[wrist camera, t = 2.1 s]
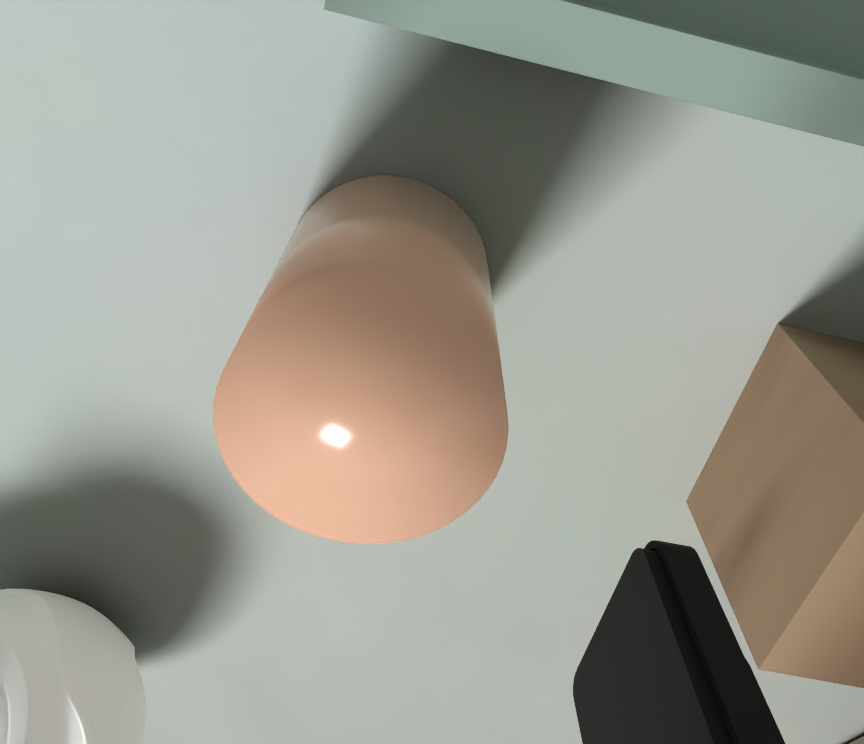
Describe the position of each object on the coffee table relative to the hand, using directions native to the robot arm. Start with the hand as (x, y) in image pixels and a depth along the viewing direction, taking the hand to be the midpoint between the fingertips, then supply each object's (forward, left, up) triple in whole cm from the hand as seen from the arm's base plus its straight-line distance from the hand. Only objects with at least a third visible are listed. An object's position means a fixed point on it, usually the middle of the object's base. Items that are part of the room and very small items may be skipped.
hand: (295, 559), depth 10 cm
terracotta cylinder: (-1, 0, -10) cm, 10 cm away
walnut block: (-14, +2, -10) cm, 17 cm away
